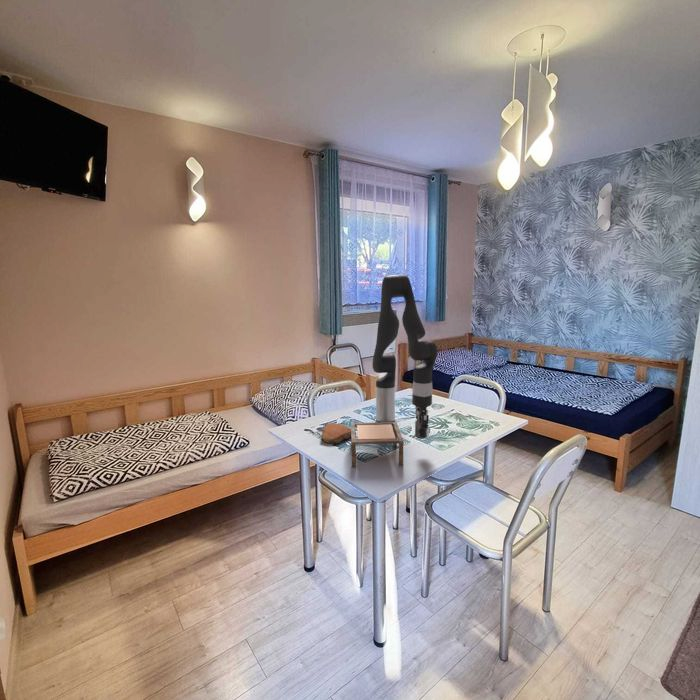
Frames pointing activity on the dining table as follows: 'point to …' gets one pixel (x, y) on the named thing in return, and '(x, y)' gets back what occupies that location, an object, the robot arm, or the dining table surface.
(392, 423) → the trapdoor frame
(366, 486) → the dining table surface
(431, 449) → the dining table surface
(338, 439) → the reddish brown rock
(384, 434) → the trapdoor
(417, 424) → the cylinder
